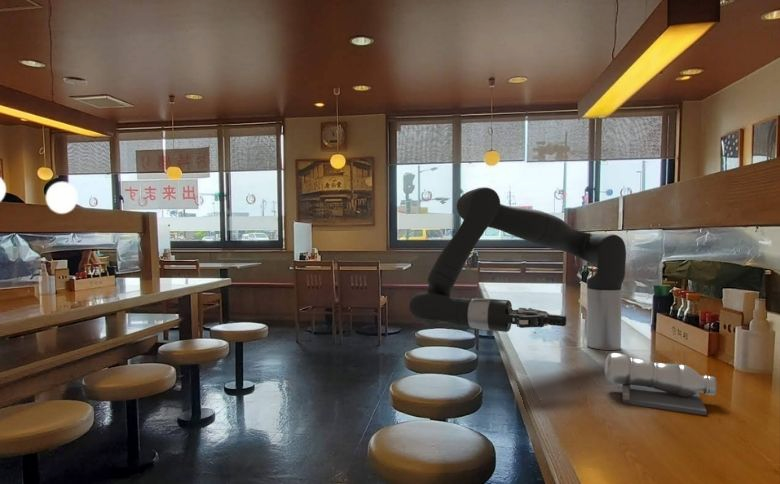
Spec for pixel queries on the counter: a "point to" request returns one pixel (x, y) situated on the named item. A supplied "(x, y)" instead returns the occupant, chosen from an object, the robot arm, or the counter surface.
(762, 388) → the counter surface
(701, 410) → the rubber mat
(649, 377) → the silver aluminum bottle
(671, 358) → the counter surface
